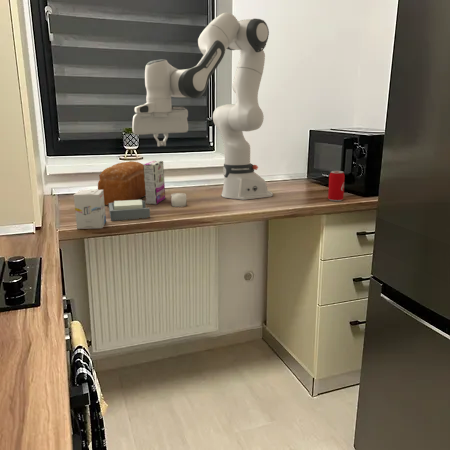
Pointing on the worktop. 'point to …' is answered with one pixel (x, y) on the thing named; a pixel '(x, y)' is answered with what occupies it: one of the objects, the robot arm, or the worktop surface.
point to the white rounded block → (178, 199)
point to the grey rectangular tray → (128, 213)
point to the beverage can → (336, 186)
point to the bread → (122, 182)
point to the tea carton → (127, 204)
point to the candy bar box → (154, 182)
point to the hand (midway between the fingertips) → (161, 146)
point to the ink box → (89, 209)
